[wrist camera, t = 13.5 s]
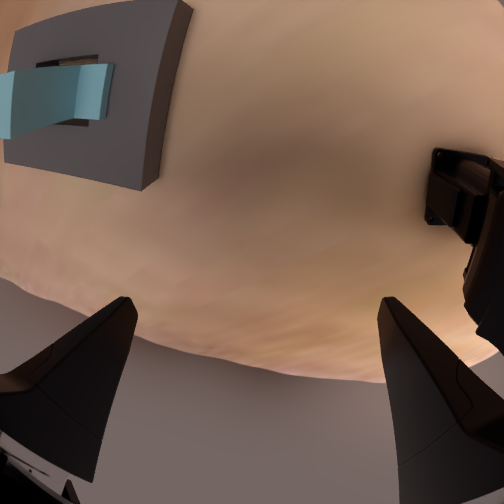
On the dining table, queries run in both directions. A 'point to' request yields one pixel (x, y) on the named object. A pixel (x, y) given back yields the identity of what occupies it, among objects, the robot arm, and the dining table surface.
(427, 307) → the dining table surface
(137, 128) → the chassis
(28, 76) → the servo
